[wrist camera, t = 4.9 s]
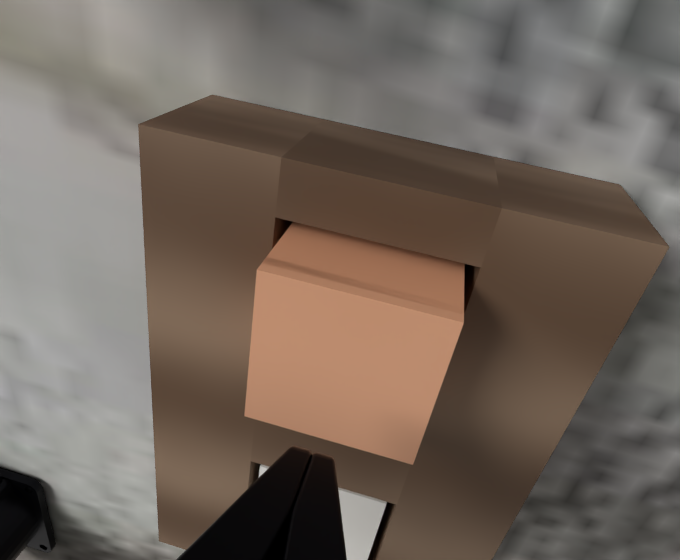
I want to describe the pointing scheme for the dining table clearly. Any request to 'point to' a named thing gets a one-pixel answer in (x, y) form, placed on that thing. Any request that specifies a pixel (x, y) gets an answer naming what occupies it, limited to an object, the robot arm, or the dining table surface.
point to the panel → (400, 231)
